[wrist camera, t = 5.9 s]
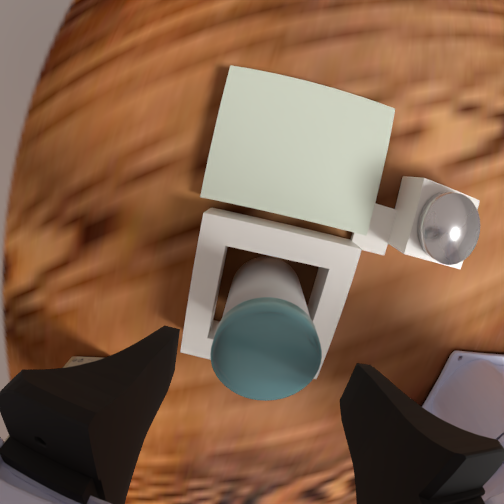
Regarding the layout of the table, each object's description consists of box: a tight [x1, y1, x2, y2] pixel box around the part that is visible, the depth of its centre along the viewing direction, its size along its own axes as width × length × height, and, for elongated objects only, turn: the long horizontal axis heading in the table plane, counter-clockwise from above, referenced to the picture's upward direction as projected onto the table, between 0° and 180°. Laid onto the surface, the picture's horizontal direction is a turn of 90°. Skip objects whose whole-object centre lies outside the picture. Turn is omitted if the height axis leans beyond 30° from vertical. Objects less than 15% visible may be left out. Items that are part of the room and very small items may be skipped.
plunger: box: [417, 192, 480, 265], centre depth 17 cm, size 4×4×4 cm
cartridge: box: [210, 257, 322, 400], centre depth 17 cm, size 5×5×8 cm
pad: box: [200, 65, 395, 236], centre depth 18 cm, size 10×8×1 cm
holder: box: [181, 176, 479, 379], centre depth 18 cm, size 16×14×3 cm
